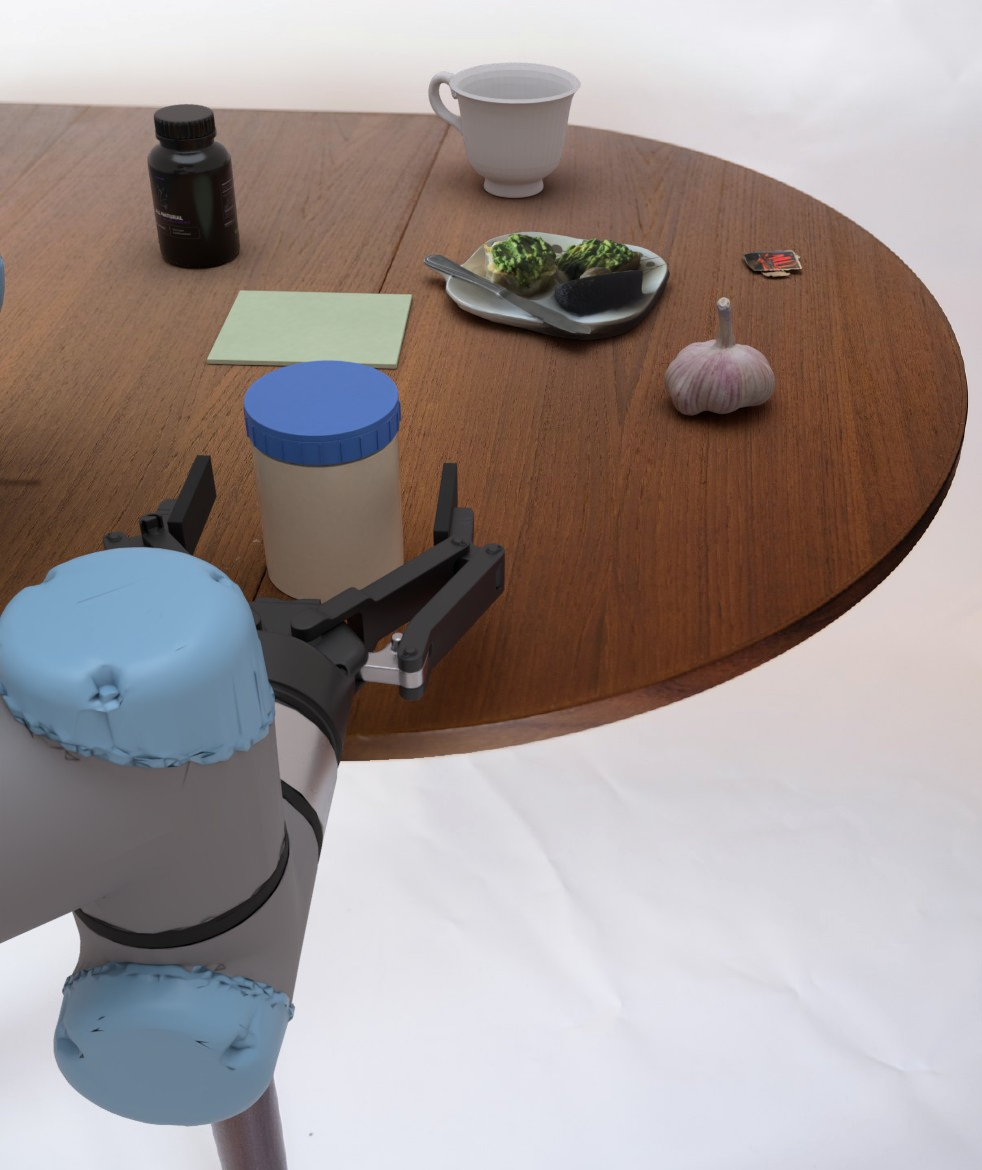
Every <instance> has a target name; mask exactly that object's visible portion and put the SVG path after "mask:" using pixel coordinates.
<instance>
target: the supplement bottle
mask: <svg viewBox="0 0 982 1170" xmlns="http://www.w3.org/2000/svg"><path fill="white" fill-rule="evenodd" d="M153 123H154V137H155V139H156V140H157V141H158V142H157V143H156V144H154V146H152V147H151V148H150V150H149V153H148V155H147V157H146V158H147V159H146V161H147V162H146V163H147V169H148V170H147V171H148V178H149V184H150V191H151V198H152V205H153V212H154V213H153V214H154V219H155V226H156V232H157V238H158V245H159V251H160V254H161V255H162V257H163V258H164V259H165V260H166V261H167V262H168V263H170V264H172V265H176V266H177V267H178V266H179V267H184V268H190V269H191V268H193V269H194V268H195V269H198V268H201V269H202V268H210V267H216V266H219V265H223V264H225V263H228V262H229V261H231V260H233V259H234V258H235V257H236V256H237V255H238V253H239V251H240V248H241V241H240V240H241V239H240V229H239V219H238V209H237V200H236V191H235V190H236V189H235V180H234V172H233V163H232V156H231V153H230V151H229V149H228V148H227V146H226V145H225V144H223V143H222V142H220V141H219V140H217V139H215V138H216V137H217V135H218V132H217V131H218V130H217V126H216V122H215V114H214V111H213V109H212V108H210V107H209V106H205V105H203V104H202V105H201V104H193V103H190V104H189V103H179V104H173V105H172V104H171V105H166V106H164V107H160V108H159V109H157V110H155V111H154V113H153Z"/></svg>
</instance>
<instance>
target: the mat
mask: <svg viewBox="0 0 982 1170" xmlns="http://www.w3.org/2000/svg"><path fill="white" fill-rule="evenodd" d="M412 301H413V294H410V293H409V294H408V293H407V294H405V293H403V294H401V293H365V292H364V293H362V292H361V293H359V292H326V291H325V292H323V291H322V292H320V291H287V290H286V291H283V290H282V291H281V290H280V291H279V290H245V289H244V290H242V289H240V290H239V291H238V294H237V296H236V298H235V300H234V302H233V304H232V306H231V309H230V310H229V313H228V315H227V316H226V319H225V321H224V323H223V325H222V326H221V329H220V331H219V332H218V333H219V334H218V335H217V336H216V337H217V338H216V340H215V342H214V343H213V346H212V348H211V350H210V352H209V354H208V356H207V358H206V362H207V364H208V365H235V366H236V365H237V366H238V365H240V366H242V365H243V366H279V367H285V366H289V365H293V364H298V363H303V362H310V361H322V360H334V361H347V362H353V363H359V364H363V365H366V366H369V367H372V368H375V369H393V370H396V369H397V368H398V365H399V360H400V355H401V350H402V347H403V346H402V345H403V340H404V336H405V332H406V328H407V325H408V320H409V315H410V310H411V306H412Z"/></svg>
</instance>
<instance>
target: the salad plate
mask: <svg viewBox="0 0 982 1170" xmlns="http://www.w3.org/2000/svg"><path fill="white" fill-rule="evenodd" d="M423 264H424V265H425V267H426V268H428V269H430V270H431V271H433V272H435V273H436V274H438V275H440V276H441V277H442V278H443V280H445V292H446V294H447V295H448V297H450V299H452V301H453V302H454V303H456V304H457V306H458V307H459V308H460V309H461V310H463V311H465V312H468V313H470V314H472V315H475V316H477V317H480V318H482V319H484V320H487V321H489V322H492V323H497V324H501V325H505V326H510V327H515V328H520V329H524V330H528V331H532V332H536V333H540V334H543V335H547V336H552V337H558V338H564V339H572V340H583V341H587V340H588V341H590V340H601V339H608V338H612V337H616V336H619V335H621V334H625V333H627V332H630V331H631V330H633V329H634V328H636V327H637V326H638V325H639V324H640V323H641V322H642V320H643V319H645V318H646V316H648V314H649V313H650V311H652V309H653V308H654V307H655V306H656V303H657V302H658V300H659V299H660V296H661V295H662V294H663V292H664V290H665V288H666V286H667V284H668V281H669V278H670V275H671V272H670V269H669V268H668V264H667V262H666V261H665V260H664V258H662V257H661V256H660V255H658V254H656V253H655V252H653V251H651V250H650V249H647V248H644V247H642V246H638V245H633V244H628V243H627V244H626V243H621V242H615V241H614V240H611V239H604V240H600V239H597V238H596V237H595V238H590V239H582V238H576V237H571V236H568V235H559V234H555V233H547V232H540V231H521V232H514V233H508V234H503V235H500V236H496V237H493V238H491V239H490V238H489V240H487V241H485V242H483V243H482V245H480V246H479V247H478V249H477V250H476V251H475V252H474V253H472V255H471V256H470V257H469V258H468V259H467V260H466V261H465V262H464V263H463V264H458V263H456V262H455V261H453V260H452V259H449V258H447V257H446V256H444V255H442V254H430V255H428V256H425V257H424V258H423Z"/></svg>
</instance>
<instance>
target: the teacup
mask: <svg viewBox="0 0 982 1170" xmlns="http://www.w3.org/2000/svg"><path fill="white" fill-rule="evenodd" d="M442 84H445V85H446V86H448V87H449V89H450V94H451V97H452V99H454V100H457V104H458V107H459V109H458V110H459V115H460V117H459V116H458V115H456V114H455V113H453V112H452V111H450V110H449V108H448V107H446V105H445V104H444V102H443V100H442V99H441V95H440V87H441V85H442ZM580 88H581V81H580V79H579V78H578V77H577V76H576V75H575V74H574V73H572V72H570V71H568V70H566V69H563V68H560V67H556V66H553V65H547V64H542V63H533V62H497V63H496V62H495V63H486V64H481V65H475V66H472V67H468V68H466V69H462V70H460V71H459V72H457V73H456V74H454V73H453V72H451V71H447V70H445V71H444V70H442V71H439V72H436V73H435V74H434V75H433V76H432V77H431V80H430V81H429V85H428V91H427V93H428V95H427V96H428V100H429V101H428V102H429V105H430V107H431V109H432V110H433V112H434V113H435V115H436V116H437V117H438V119H440V120H442V121H443V122H445V123H446V124H448V125H449V126H451V127H453V128H454V129H456V130H457V132H459V133H460V135H461V136H462V138H463V146H464V151H465V155H466V158H467V161H468V163H469V166H470V167H471V169H472V170H473V171H474V172H475V173H477V175H479V176H481V177H483V178H484V183H483V188H484V190H485V191H486V192H487V193H489V194H490V195H492V196H495V197H500V198H507V199H521V198H529V197H533V196H535V195H538V194H539V193H541V192H542V191H543V189H544V181H543V179H544V178H546V177H548V176H549V175H550V174H552V173H553V172H554V171H555V170H556V169H557V167H558V165H559V164H560V162H561V159H562V156H563V152H564V148H565V142H566V138H567V137H566V136H567V130H568V124H569V117H570V111H571V106H572V102H573V98H574V95H575V94H576V92H578V91H579V89H580Z"/></svg>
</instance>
